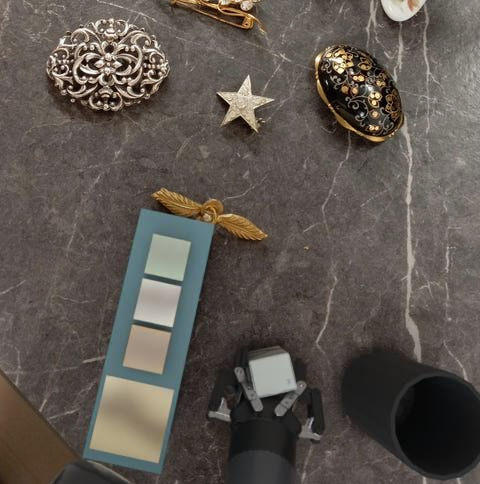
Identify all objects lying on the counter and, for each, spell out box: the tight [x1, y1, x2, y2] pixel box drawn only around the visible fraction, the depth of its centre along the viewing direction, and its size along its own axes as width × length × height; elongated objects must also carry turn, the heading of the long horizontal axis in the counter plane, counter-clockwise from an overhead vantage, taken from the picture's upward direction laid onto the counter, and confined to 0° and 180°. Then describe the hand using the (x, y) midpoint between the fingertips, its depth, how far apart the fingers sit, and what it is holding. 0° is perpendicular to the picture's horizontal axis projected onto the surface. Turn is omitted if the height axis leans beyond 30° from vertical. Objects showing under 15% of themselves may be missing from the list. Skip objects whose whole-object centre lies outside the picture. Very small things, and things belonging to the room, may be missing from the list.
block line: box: [89, 233, 191, 463], centre depth 90 cm, size 22×7×4 cm, turn 168°
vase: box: [340, 350, 480, 482], centre depth 104 cm, size 10×10×30 cm
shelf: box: [81, 207, 216, 475], centre depth 106 cm, size 25×8×28 cm, turn 168°
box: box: [245, 345, 297, 398], centre depth 112 cm, size 5×4×13 cm
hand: (270, 356), depth 112 cm, fingers closed on box, 6 cm apart
